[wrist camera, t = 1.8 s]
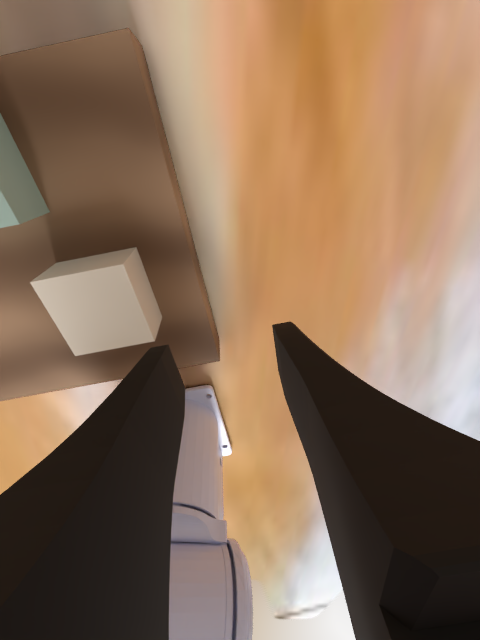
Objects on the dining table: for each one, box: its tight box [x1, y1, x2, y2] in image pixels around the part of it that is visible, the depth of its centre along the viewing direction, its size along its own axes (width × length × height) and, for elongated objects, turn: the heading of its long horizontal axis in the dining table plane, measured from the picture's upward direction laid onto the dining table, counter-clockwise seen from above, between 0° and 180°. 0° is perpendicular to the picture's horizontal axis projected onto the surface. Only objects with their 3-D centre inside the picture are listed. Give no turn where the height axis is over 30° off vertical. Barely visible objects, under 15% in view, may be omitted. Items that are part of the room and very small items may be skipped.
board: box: [0, 28, 220, 401], centre depth 17 cm, size 17×16×2 cm
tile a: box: [30, 247, 162, 356], centre depth 16 cm, size 4×4×3 cm
